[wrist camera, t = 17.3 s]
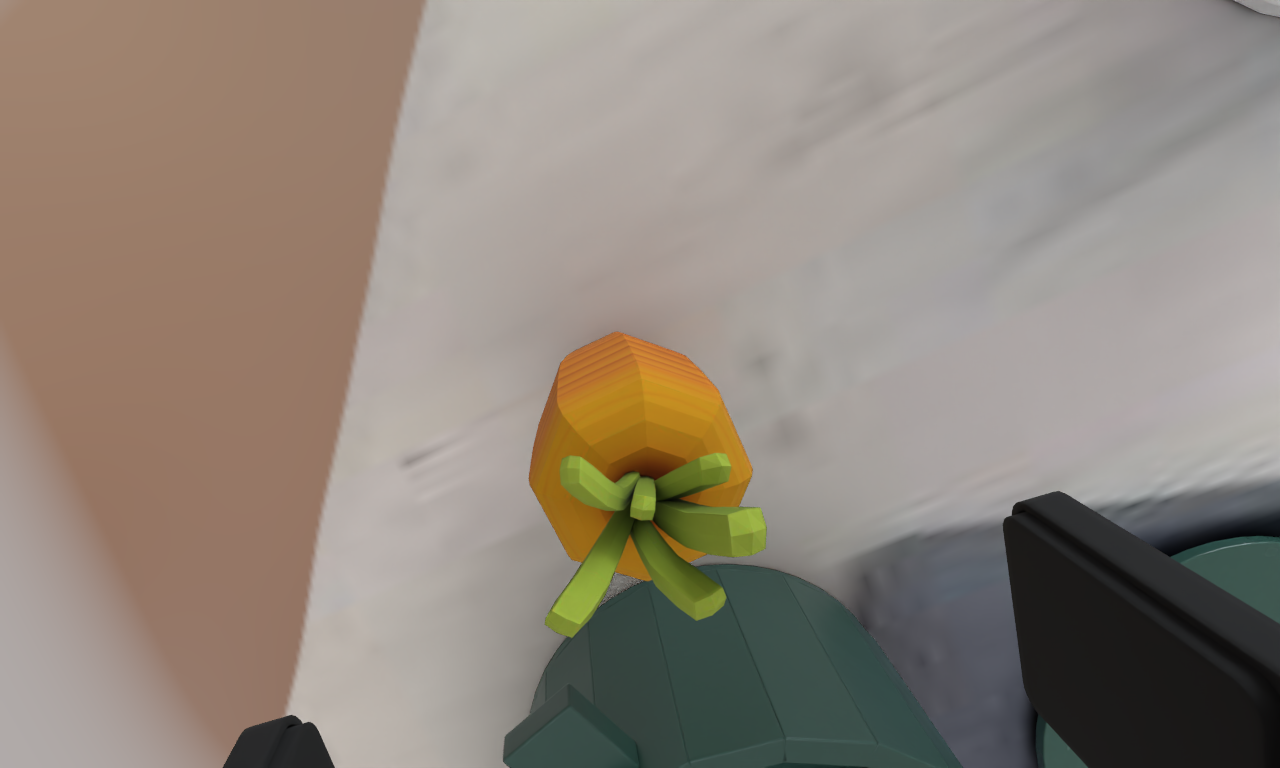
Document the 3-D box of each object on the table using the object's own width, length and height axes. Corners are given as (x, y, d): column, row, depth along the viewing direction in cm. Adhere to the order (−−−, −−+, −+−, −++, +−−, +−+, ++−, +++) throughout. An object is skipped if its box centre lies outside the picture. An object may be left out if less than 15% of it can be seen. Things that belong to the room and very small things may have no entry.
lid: (1268, 453, 31) (1440, 521, 25) (1421, 691, 35) (1600, 798, 29) (957, 698, 32) (1049, 817, 26) (1139, 898, 36) (1253, 1040, 30)
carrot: (542, 437, 27) (530, 734, 13) (532, 296, 26) (506, 452, 12) (682, 427, 28) (821, 704, 13) (679, 288, 26) (831, 431, 12)
